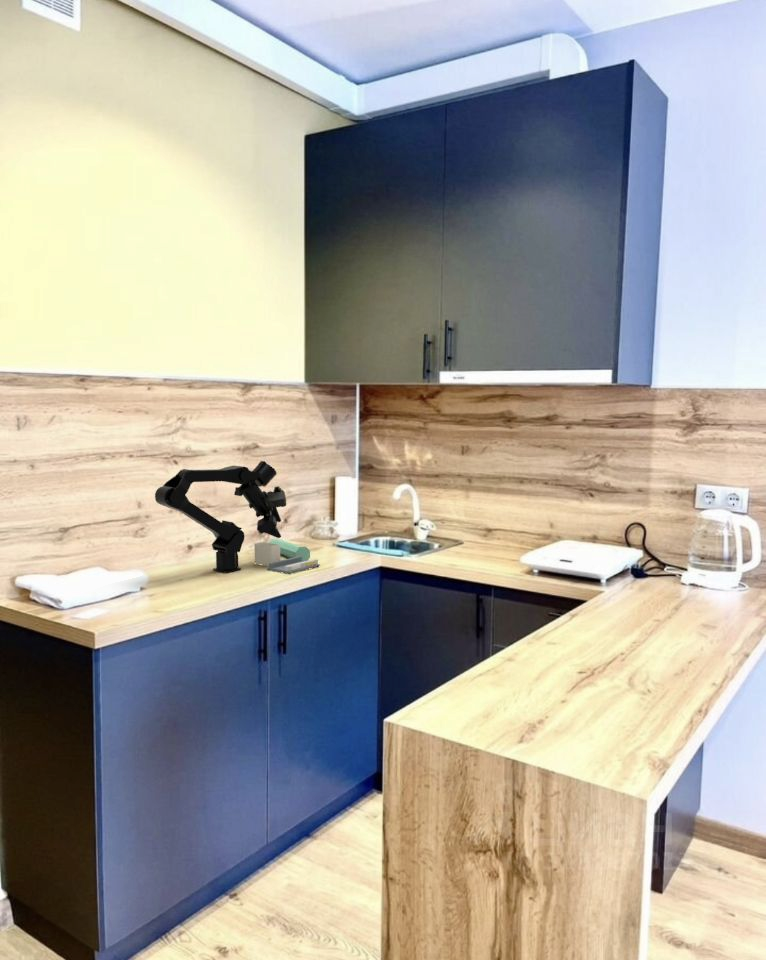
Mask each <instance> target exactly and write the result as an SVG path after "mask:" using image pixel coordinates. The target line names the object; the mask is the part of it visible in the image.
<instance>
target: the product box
mask: <svg viewBox="0 0 766 960" xmlns="http://www.w3.org/2000/svg"><path fill="white" fill-rule="evenodd" d="M253 545H254V546H253V547H254V564H255V563H256V564H255V565H257V564H262V565H261V566H263V565H267V566H266V567H268V566H269V563H272V562H276V561H281V555H280V544H274V543H269V542H267V541H260V542H255V543H254V544H253Z"/></svg>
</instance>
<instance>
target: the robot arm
mask: <svg viewBox="0 0 766 960" xmlns="http://www.w3.org/2000/svg"><path fill="white" fill-rule="evenodd" d="M276 476H277V471H276V469H275V467H273V466H271V465H270V464H268V463H267V462H266V461H265V460H260V462H259V463H258V464H257V465H256V466H255V468H254V469H253V470H250V469H249V467H246V466H241V465H230V466H224V467H222V468H218V469H213V468H212V469H187V468H183V469H181V470H179V471H178V472H177V473H176V475H174V476H173V477H171V478H170V479H169V480H168V481H166V482H165V483H164V484H163V485H162V486H159V487H158V488H157V490H156V491H155V493H154V498H155V501H156V503H157V504H158V505H161V506H163V507H166V508H169V509H172V510H175V511H177V512H180V513H181V514H183V515H184V516H186V517H187V518H189V519H191V520H192V521H194V522H195V523H197V524H199V525H200V526H202V527H203V528H204V529H206V530H208V531H210V532H211V533H212V534H213V536H214V537H215V539H214V541H213V542H212V544H211V546H212V549H213V551H215V564H216V565H215V567H214V568H212V571H216V572H221V573H226V574H227V573H231V572H234V571H239V570H241V569H242V568H241V567H239V554H238V553H240V552H241V550H242V546H243V543H244V541H245V532H244V531H243V530H242V529H243V528H242V527H239V526H237V525H236V523H234V522H233V521H227V520H223V519H222V520H221V521H220V520H218V519H217V518H215V517H214V516H212V515H211V514H210V513H208V512H206V511H204V510H203V509H201V508H200V507H199V506H197V505H195V504H194V503H193V502H191V501H190V500H189V498H188V497H187V495H186V494H187V493H189V490H190V488H191V485H192V484H193V483H205V482H207V483H208V482H209V483H211V482H224V483H225V482H226V483H231V484H235V485H236V484H238V485H240V486H236V487H235V490H234V496H237V497H243V498H245V500H246V501H247V502H248V507H249V508H250V509H253V510H254V512H255V516H256V517H257V518H259V517H262V518H261V519H258V520H257V522H256V526H257V527H256V530H257V532H258V533H259V534H260V535H262V534H267V535H269V536H273V537H274V538H276V539H280V538H282V534H281V532H280V531H279V528H278V527H277V525H278V523H280V522H282V519H281V516H280V514H279V512H278V509H277V508H284V507H286V506H287V498H286V493H285V492H286V491H284V489H282V488H281V487H280V486H277V485H276V486H274V488H273V491H271V490H270V491H265V490H264V491H263V490H262V489H261V487H266V486H267V485H268V484H269V483H270V482H271V481H272V480H273V479H274V478H275V477H276Z"/></svg>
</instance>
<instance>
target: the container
mask: <svg viewBox="0 0 766 960" xmlns="http://www.w3.org/2000/svg"><path fill="white" fill-rule="evenodd" d="M268 543H274V544H280V554H281V555H280V556H283V555H284V556H283V557H285V558H288V557H289V558H294V557H298V556H300V557H302V561H309V560H310V558H311V550H310V549H309V548H308V547H307V546H305V545H303V546H301V545H298V544H294V543H292V542H289V541H285V540H282V539H280V538H271V539H270V541H269V542H268ZM289 558H288V559H289Z"/></svg>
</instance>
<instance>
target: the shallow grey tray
mask: <svg viewBox="0 0 766 960" xmlns="http://www.w3.org/2000/svg"><path fill="white" fill-rule="evenodd" d="M318 561H319V559H318V558H312V559H308V561H302V557H300V556H298V557H294V558H285V559H282V560H281V559H280V561H276V562H272V563H269V567H268V566H266V570H267V569H268V570H267V571H270V570H273V571H272V572H275V571H277V572H276V573H281V572H283V573H282V574H286V573H288V574H287V575H292V574H291V573H293V574H296V573H295V572H297V573H299V572H298V571H300V572H303V571H302V570H304V571H307V570H306V569H308V570H310V569H309V568H312V569H314V568H313V567H316V568H318V567H317V566H320V567H321V565H320V563H319V562H318Z"/></svg>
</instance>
